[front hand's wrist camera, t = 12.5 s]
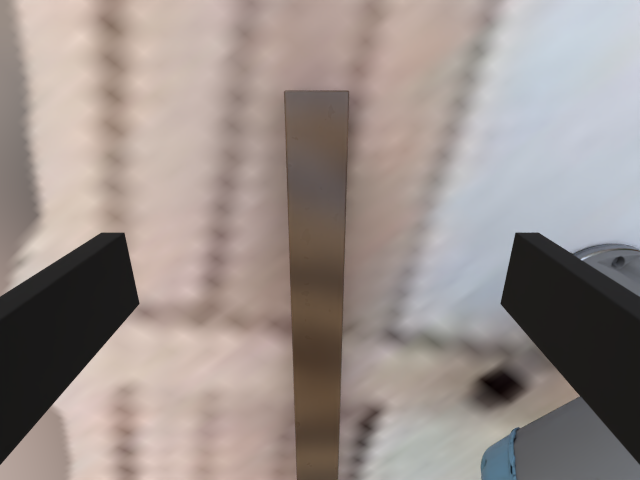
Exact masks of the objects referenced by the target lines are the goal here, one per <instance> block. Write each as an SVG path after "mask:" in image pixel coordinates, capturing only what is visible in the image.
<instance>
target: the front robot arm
mask: <svg viewBox="0 0 640 480" xmlns="http://www.w3.org/2000/svg"><path fill="white" fill-rule="evenodd" d="M138 305H139V299H138V295H137V290H136V285H135V280H134V276H133V271H132V266H131V262H130V257H129V252H128V248H127V243H126V238H125V233H100V234H99V235H97V236H96V237H94V238H92V239H91V240H89V241H88V242H86V243H85V244H83V245H81V246H80V247H78V248H77V249H75V250H73V251H72V252H70V253H69V254H67V255H66V256H64V257H62V258H61V259H59V260H58V261H56V262H54V263H53V264H51V265H50V266H48V267H47V268H45V269H43V270H42V271H40V272H39V273H37V274H35V275H34V276H32V277H31V278H29V279H28V280H26V281H24V282H23V283H21V284H20V285H18V286H16V287H15V288H13V289H12V290H10V291H8V292H7V293H5V294H4V295H2V296H1V297H0V465H1V463H2V462H3V461H4V460H5V459H6V458H7V456H8V455H9V454H10V453H11V452H12V451H13V450H14V448H15V447H16V446H17V445H18V444H19V443H20V441H21V440H22V439H23V438H24V437H25V436H26V434H27V433H28V432H29V431H30V430H31V429H32V428H33V426H34V425H35V424H36V423H37V422H38V421H39V419H40V418H41V417H42V416H43V415H44V414H45V413H46V411H47V410H48V409H49V408H50V407H51V406H52V404H53V403H54V402H55V401H56V400H57V399H58V397H59V396H60V395H61V394H62V393H63V392H64V391H65V389H66V388H67V387H68V386H69V385H70V384H71V382H72V381H73V380H74V379H75V378H76V377H77V375H78V374H79V373H80V372H81V371H82V370H83V369H84V367H85V366H86V365H87V364H88V363H89V362H90V360H91V359H92V358H93V357H94V356H95V355H96V353H97V352H98V351H99V350H100V349H101V348H102V347H103V345H104V344H105V343H106V342H107V341H108V340H109V338H110V337H111V336H112V335H113V334H114V333H115V331H116V330H117V329H118V328H119V327H120V326H121V325H122V323H123V322H124V321H125V320H126V319H127V318H128V316H129V315H130V314H131V313H132V312H133V311H134V309H135V308H136V307H137V306H138ZM501 305H502V306H503V307H504V308H505V309H506V311H507V312H508V313H509V314H510V315H511V316H512V318H513V319H514V320H515V321H516V322H517V323H518V325H519V326H520V327H521V328H522V329H523V330H524V331H525V333H526V334H527V335H528V336H529V337H530V338H531V340H532V341H533V342H534V343H535V344H536V345H537V347H538V348H539V349H540V350H541V351H542V352H543V353H544V355H545V356H546V357H547V358H548V359H549V360H550V362H551V363H552V364H553V365H554V366H555V367H556V369H557V370H558V371H559V372H560V373H561V374H562V375H563V377H564V378H565V379H566V380H567V381H568V382H569V384H570V385H571V386H572V387H573V388H574V389H575V391H576V392H577V393H578V394H579V395H580V397H578V398H576V399H574V400H572V401H570V402H569V403H567V404H565V405H563V406H561V407H559V408H557V409H556V410H554V411H552V412H550V413H548V414H546V415H544V416H543V417H541V418H539V419H537V420H535V421H533V422H531V423H530V424H528V425H526V426H524V427H522V428H519V427H518V428H515V429H513V430H512V431H511V434H509V435H508V436H506V437H505V438H503V439H502V440H500V441H498V442H497V443H495V444H494V445H492V446H490V447H489V448H488V449H487V450H486V451H485V453H484V455H483V457H482V461H481V475H482V476H481V478H482V480H640V249H637V248H635V247H632V246H628V245H622V244H605V245H599V246H594V247H590V248H587V249H584V250H582V251H579V252H577V253H575V254H571V253H570V252H568V251H567V250H565V249H563V248H562V247H560V246H559V245H557V244H555V243H554V242H552V241H551V240H549V239H548V238H546V237H544V236H543V235H541V234H540V233H515V238H514V243H513V248H512V252H511V257H510V262H509V266H508V271H507V276H506V280H505V285H504V290H503V295H502V299H501Z"/></svg>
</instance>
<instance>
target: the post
mask: <svg viewBox="0 0 640 480" xmlns="http://www.w3.org/2000/svg"><path fill="white" fill-rule="evenodd" d="M284 101H285V131H286V162H287V192H288V223H289V253H290V284H291V314H292V344H293V375H294V405H295V436H296V466H297V480H338V459H339V424H340V390H341V355H342V321H343V286H344V252H345V217H346V183H347V148H348V114H349V91H284Z"/></svg>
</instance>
